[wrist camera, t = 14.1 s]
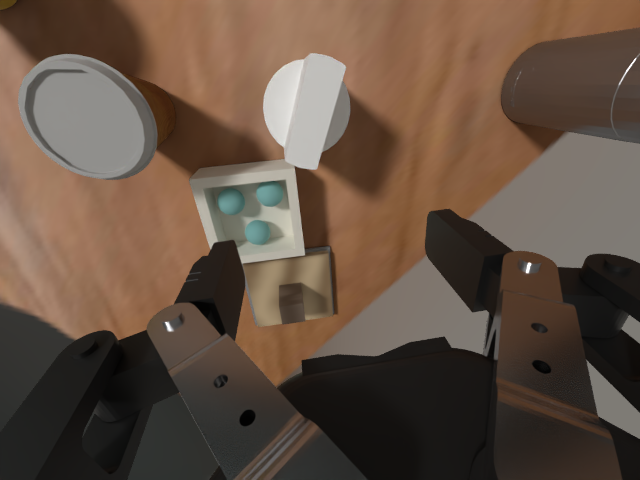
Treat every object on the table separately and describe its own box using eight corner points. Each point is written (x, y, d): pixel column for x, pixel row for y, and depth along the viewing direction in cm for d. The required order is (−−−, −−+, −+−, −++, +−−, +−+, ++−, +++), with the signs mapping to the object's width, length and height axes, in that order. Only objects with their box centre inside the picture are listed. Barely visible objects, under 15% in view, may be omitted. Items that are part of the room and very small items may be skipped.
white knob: (327, 152, 38) (346, 179, 27) (259, 133, 35) (250, 155, 25) (349, 77, 34) (381, 75, 23) (274, 50, 31) (271, 35, 21)
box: (292, 158, 37) (294, 168, 33) (302, 237, 43) (305, 255, 39) (199, 168, 36) (188, 179, 32) (222, 247, 42) (215, 266, 38)
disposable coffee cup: (202, 94, 33) (166, 99, 22) (176, 167, 36) (134, 202, 26) (110, 42, 29) (17, 20, 19) (91, 128, 33) (4, 150, 22)
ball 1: (243, 183, 37) (240, 191, 34) (248, 207, 39) (246, 217, 36) (216, 186, 37) (211, 195, 34) (223, 210, 38) (218, 221, 36)
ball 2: (281, 175, 37) (281, 183, 34) (284, 199, 39) (285, 209, 36) (254, 178, 37) (252, 186, 34) (259, 202, 39) (258, 212, 36)
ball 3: (268, 214, 40) (267, 225, 37) (272, 235, 41) (271, 247, 38) (244, 217, 39) (241, 228, 36) (248, 238, 41) (246, 250, 38)
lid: (327, 250, 44) (333, 272, 39) (331, 312, 51) (337, 338, 45) (243, 260, 43) (238, 285, 38) (258, 322, 50) (256, 350, 45)
